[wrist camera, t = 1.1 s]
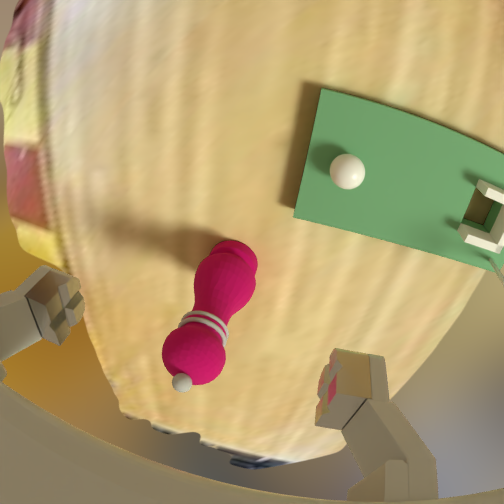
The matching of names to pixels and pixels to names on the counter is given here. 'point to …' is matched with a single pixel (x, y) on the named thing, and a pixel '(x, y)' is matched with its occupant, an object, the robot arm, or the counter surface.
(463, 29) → the counter surface
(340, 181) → the ball
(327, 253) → the counter surface
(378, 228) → the green
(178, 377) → the pepper mill
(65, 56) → the counter surface
